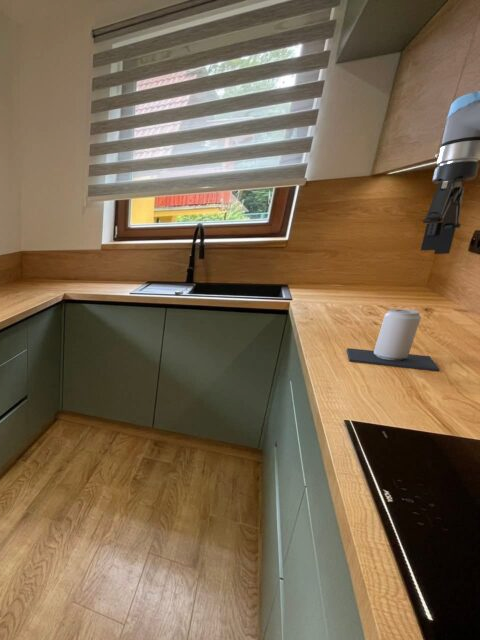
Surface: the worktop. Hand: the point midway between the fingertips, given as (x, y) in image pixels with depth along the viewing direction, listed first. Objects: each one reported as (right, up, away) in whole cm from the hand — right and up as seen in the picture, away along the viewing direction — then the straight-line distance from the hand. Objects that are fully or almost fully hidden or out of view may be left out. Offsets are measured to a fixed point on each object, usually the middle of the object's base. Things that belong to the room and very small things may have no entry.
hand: (435, 252), depth 112 cm
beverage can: (-15, -28, -3) cm, 32 cm away
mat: (-15, -28, -3) cm, 32 cm away
